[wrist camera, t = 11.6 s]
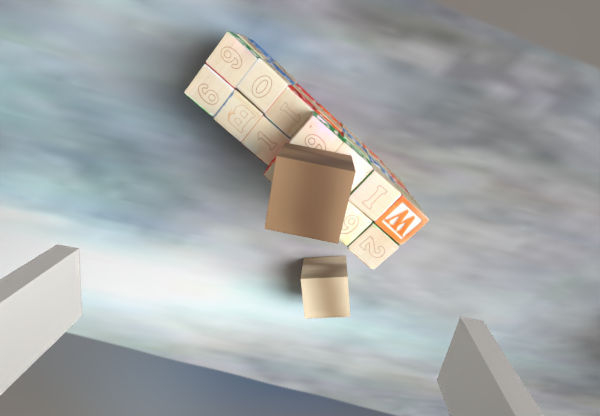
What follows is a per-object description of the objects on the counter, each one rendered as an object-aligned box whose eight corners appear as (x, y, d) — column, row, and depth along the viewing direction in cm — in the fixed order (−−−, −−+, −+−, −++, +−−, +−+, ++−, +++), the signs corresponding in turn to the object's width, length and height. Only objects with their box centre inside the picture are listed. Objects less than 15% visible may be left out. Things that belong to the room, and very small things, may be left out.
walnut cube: (275, 204, 29) (264, 228, 25) (285, 142, 28) (276, 155, 23) (336, 216, 29) (338, 243, 25) (351, 155, 28) (355, 171, 23)
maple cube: (307, 293, 46) (304, 318, 41) (303, 257, 44) (300, 278, 40) (348, 291, 45) (350, 316, 41) (345, 255, 44) (347, 276, 39)
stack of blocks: (215, 88, 39) (165, 92, 27) (252, 38, 37) (216, 21, 25) (362, 219, 42) (373, 273, 31) (402, 180, 40) (431, 221, 29)
